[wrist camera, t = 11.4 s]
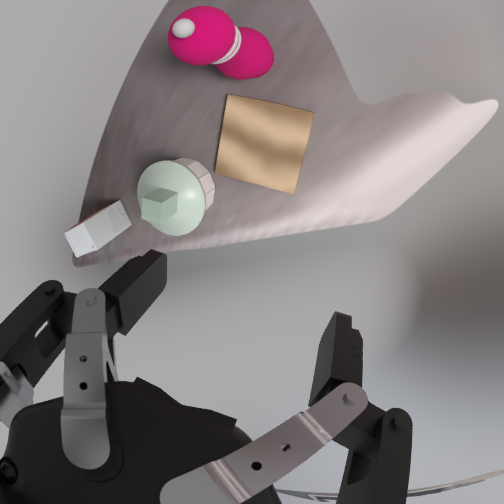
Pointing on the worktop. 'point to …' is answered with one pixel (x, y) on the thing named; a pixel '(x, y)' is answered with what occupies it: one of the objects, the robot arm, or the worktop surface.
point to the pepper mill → (219, 43)
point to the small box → (98, 229)
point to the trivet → (263, 142)
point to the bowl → (201, 178)
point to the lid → (171, 197)
